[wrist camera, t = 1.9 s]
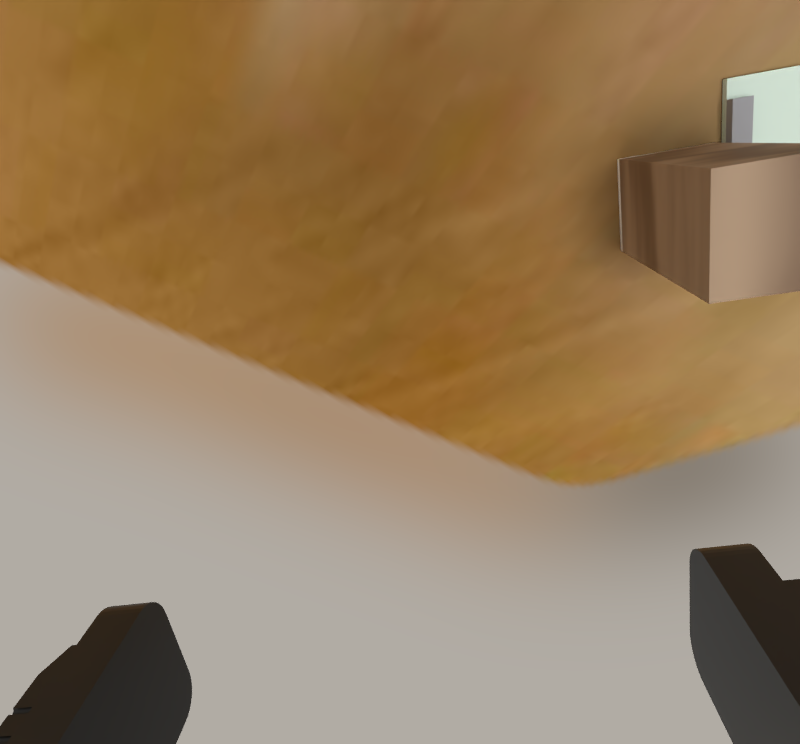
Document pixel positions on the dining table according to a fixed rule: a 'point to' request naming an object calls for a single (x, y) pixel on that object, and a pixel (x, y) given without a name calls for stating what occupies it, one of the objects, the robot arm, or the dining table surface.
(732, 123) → the sage mat
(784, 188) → the walnut block
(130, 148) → the dining table surface
